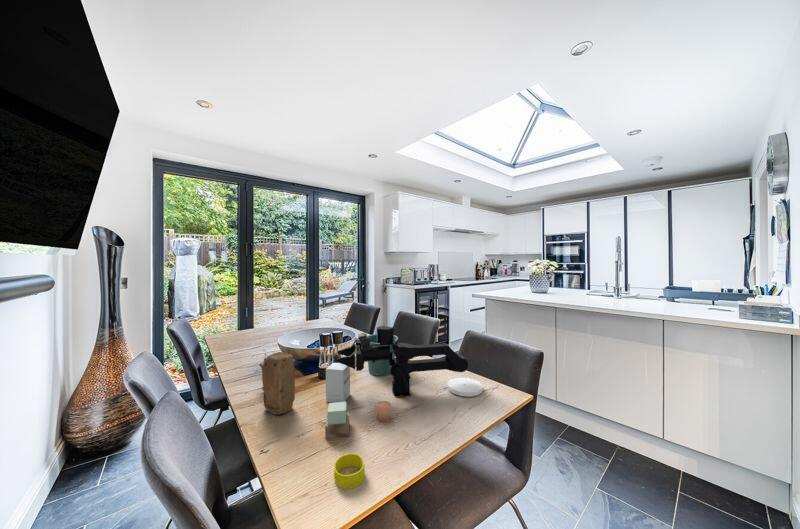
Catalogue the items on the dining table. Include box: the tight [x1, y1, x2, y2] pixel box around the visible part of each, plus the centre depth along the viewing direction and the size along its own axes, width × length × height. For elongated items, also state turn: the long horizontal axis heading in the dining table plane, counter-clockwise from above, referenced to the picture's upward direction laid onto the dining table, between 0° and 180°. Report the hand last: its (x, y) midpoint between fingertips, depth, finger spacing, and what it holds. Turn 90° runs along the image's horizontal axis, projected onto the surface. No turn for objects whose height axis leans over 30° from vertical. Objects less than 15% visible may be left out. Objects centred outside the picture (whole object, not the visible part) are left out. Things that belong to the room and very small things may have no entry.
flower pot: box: [367, 333, 399, 377], centre depth 139 cm, size 16×16×16 cm
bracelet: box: [333, 452, 365, 489], centre depth 72 cm, size 7×8×3 cm
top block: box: [326, 401, 347, 425], centre depth 91 cm, size 6×6×4 cm
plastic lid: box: [446, 377, 483, 397], centre depth 119 cm, size 14×14×2 cm
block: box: [261, 351, 296, 416], centre depth 104 cm, size 11×8×20 cm
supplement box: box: [325, 362, 351, 403], centre depth 113 cm, size 7×7×13 cm
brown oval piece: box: [375, 400, 392, 423], centre depth 99 cm, size 5×5×4 cm
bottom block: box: [324, 411, 350, 440], centre depth 91 cm, size 7×7×4 cm
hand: (336, 356), depth 112 cm, fingers open, 9 cm apart
